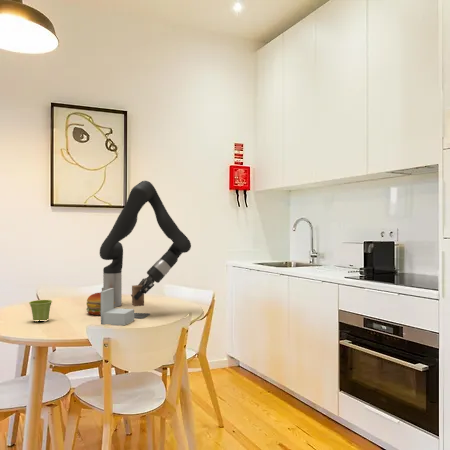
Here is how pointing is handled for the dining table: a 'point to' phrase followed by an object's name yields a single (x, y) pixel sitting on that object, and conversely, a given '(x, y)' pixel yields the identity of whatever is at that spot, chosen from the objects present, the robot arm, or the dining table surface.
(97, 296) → the burger
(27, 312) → the dining table surface
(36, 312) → the plant pot
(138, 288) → the walnut block
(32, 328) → the dining table surface
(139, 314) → the mat
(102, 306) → the ledge
